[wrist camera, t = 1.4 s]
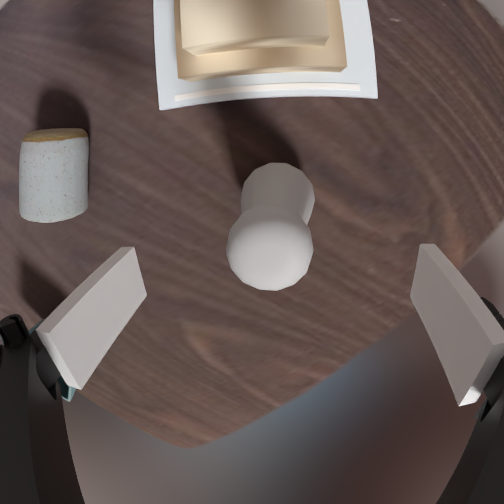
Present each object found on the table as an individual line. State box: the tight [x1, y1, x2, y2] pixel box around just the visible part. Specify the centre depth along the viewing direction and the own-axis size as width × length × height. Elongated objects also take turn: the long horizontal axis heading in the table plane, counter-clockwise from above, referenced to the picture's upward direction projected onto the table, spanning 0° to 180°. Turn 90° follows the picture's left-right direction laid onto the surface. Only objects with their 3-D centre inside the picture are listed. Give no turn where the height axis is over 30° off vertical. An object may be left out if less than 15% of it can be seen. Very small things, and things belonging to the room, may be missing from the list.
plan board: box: [153, 0, 378, 110], centre depth 18 cm, size 18×16×1 cm
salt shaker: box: [226, 163, 315, 290], centre depth 20 cm, size 6×6×13 cm
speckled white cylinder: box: [19, 128, 89, 223], centre depth 23 cm, size 11×8×8 cm
